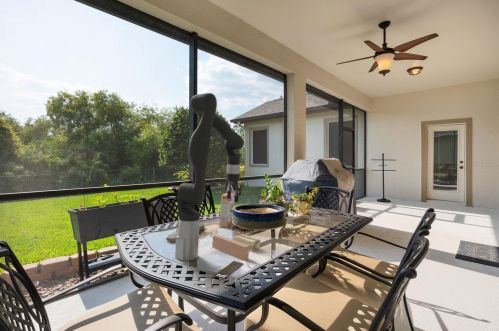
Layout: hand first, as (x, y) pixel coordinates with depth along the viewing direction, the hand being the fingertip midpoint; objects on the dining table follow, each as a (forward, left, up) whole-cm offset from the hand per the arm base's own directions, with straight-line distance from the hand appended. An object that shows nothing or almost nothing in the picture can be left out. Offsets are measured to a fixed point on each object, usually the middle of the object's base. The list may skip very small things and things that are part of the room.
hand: (232, 200), depth 157 cm
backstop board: (-18, -18, -21) cm, 33 cm away
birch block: (-5, -18, -21) cm, 28 cm away
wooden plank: (-31, -32, -22) cm, 49 cm away
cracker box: (+16, +20, -21) cm, 33 cm away
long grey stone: (-16, +20, -22) cm, 33 cm away
